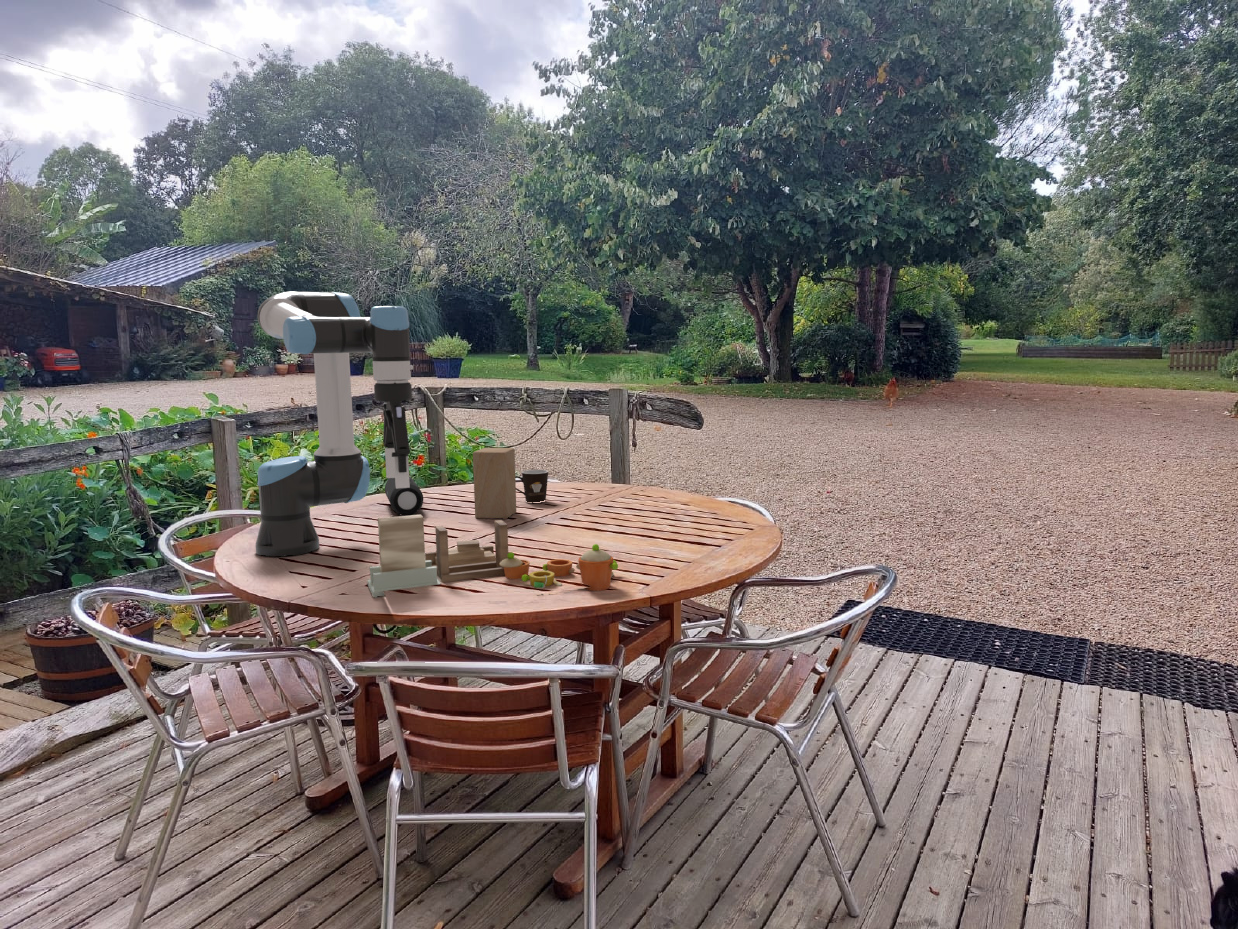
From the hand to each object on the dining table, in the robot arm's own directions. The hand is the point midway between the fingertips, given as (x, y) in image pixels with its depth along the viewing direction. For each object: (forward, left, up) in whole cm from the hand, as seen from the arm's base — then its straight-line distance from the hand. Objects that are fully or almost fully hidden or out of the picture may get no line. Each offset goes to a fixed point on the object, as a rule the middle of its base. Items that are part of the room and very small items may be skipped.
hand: (397, 482), depth 176 cm
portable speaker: (-85, +13, -23) cm, 90 cm away
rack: (-5, +15, -23) cm, 28 cm away
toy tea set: (+12, +32, -23) cm, 41 cm away
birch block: (0, 0, -22) cm, 22 cm away
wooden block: (-64, +37, -23) cm, 77 cm away
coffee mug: (-80, +53, -23) cm, 98 cm away
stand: (0, 0, -23) cm, 23 cm away
